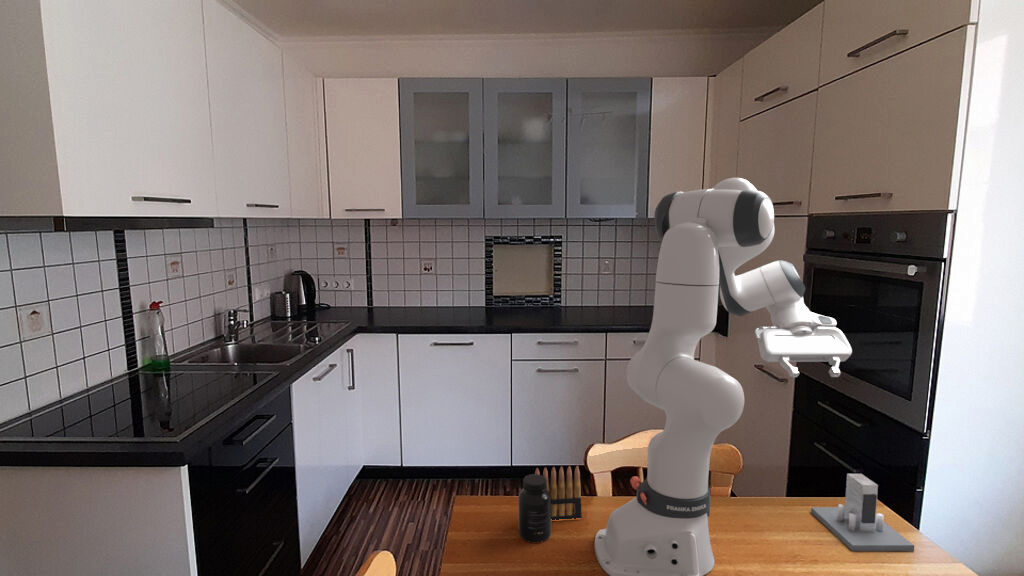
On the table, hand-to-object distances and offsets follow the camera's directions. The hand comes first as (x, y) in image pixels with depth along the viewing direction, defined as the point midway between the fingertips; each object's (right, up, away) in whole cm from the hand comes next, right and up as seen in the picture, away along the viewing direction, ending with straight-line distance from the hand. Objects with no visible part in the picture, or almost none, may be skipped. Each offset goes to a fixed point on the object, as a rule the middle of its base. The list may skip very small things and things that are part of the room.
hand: (815, 375), depth 117 cm
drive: (+3, -29, -10) cm, 31 cm away
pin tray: (+3, -31, -10) cm, 32 cm away
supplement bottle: (-65, -31, -11) cm, 73 cm away
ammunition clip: (-60, -31, -6) cm, 67 cm away
